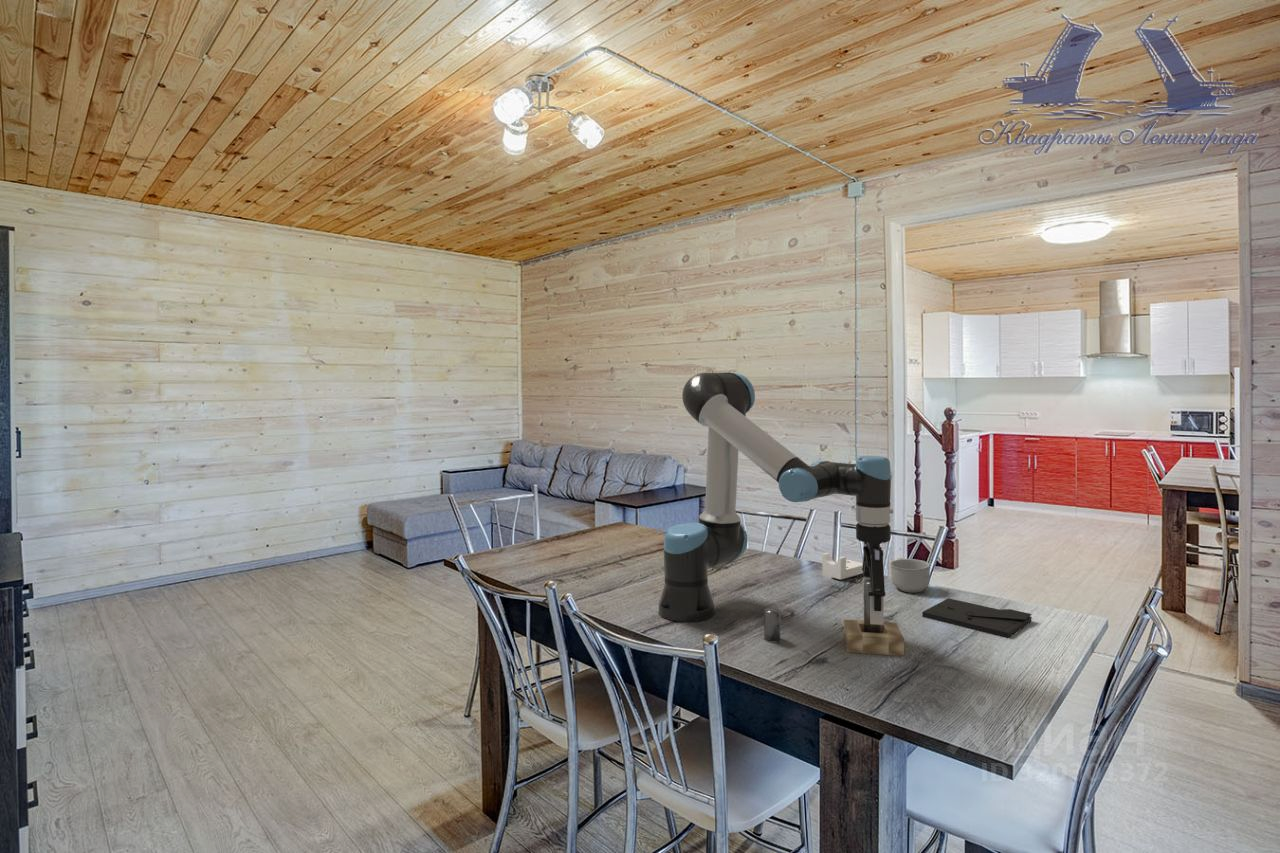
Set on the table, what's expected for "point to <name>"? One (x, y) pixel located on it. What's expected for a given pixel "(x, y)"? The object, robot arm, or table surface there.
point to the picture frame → (979, 617)
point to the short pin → (772, 624)
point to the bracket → (840, 567)
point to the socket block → (873, 638)
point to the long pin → (867, 626)
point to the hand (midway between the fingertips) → (872, 613)
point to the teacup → (910, 574)
